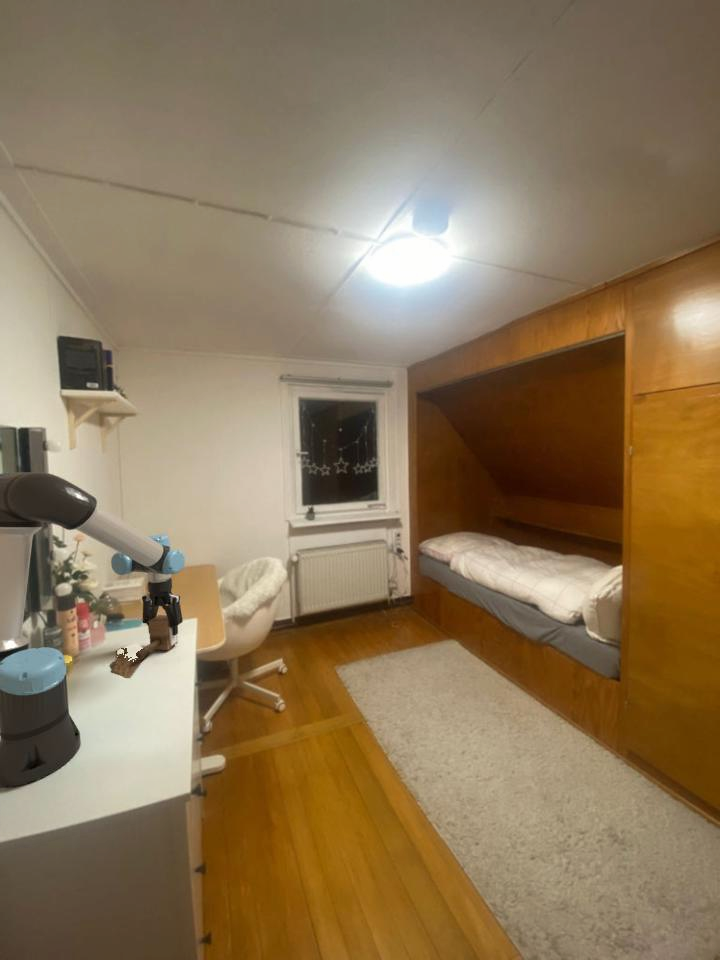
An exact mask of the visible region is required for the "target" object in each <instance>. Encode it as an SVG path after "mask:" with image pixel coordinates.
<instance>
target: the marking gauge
mask: <svg viewBox="0 0 720 960" xmlns="http://www.w3.org/2000/svg"><path fill="white" fill-rule="evenodd" d="M170 626H171V625H170V622H169V620H168V617H167V615H164V614H157V616H156V617H155V618H153V619H151V620H149V629H148V630H149V631H148V634H149V644H148V645H146V646H143V647H144V648H143V649H141V650H140V651H138V652H137V653H136V656H137V657H138V658H140V657H143V655H145V654H146V653H148V652H149V651H150V652H151V651H152V650H162V651H163V650H164V651H169V650H171V649H172V648H174V646H176V645H177V644H178V643H179V642H178V640H177V642H176V643H175V644H176V645H175V644H173V645H172V646H170V637H169V627H170ZM150 652H149V653H150ZM149 653H148V654H149Z"/></svg>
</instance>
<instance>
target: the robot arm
mask: <svg viewBox="0 0 720 960" xmlns="http://www.w3.org/2000/svg"><path fill="white" fill-rule="evenodd" d="M98 503H99V502H98V499H97V498H96V497H95V496H94V495H92V494H90V493H89V492H88V491H85V490H83V489H82V488H80V487H79V486H78V485H75V484H73V482H71V481H69V480H66V479H65V478H62V477H60V476H57V475H55V474H53V473H50V472H49V473H48V472H43V471H31V472H25V471H23V472H19V471H18V472H15V471H14V472H10V471H8V472H4V473H1V472H0V787H1V786H4V787H3V788H8V787H7V786H14V787H19V786H23V785H22V784H24V785H26V784H25V783H27V784H29V783H28V782H30V783H32V782H31V781H33V782H35V781H34V780H36V779H38V780H40V779H42V778H41V777H43V776H45V777H47V776H49V775H50V774H52V773H54V772H55V771H57V770H59V769H60V768H62V767H63V766H64V765H66V764H67V763H68V762H69V761H70V760H72V759H73V758H74V756H75V755H76V754H77V752H79V750H80V748H81V743H82V741H81V733H80V730H79V729H78V726H77V725H76V723H75V722H74V719H73V718H72V716H71V714H70V710H69V708H70V707H69V698H68V697H69V696H68V695H69V693H68V685H67V668H68V667H67V665H66V660H65V657H64V654H63V653H62V652H61V651H60V650H58V649H57V648H53V647H47V646H46V647H44V646H42V647H39V648H37V647H32V648H29V644H30V639H29V638H28V637H26V636H24V634H23V626H24V620H25V619H24V618H25V607H26V602H27V601H26V599H27V590H28V582H29V572H30V563H31V555H32V546H33V539H34V535H35V534H36V533H38V531H40V530H42V529H43V523H49V524H54V525H56V526H59V527H61V528H64V529H65V530H66V531H67V530H68V531H73V530H76V531H78V532H80V533H82V534H84V535H86V536H87V537H90V538H91V539H93V540H95V541H97V542H99V543H101V544H103V545H104V546H107V547H109V548H110V549H111V550H112V549H113V550H114V551H116V552H115V553H114V554H113V555H112V556H111V560H110V562H111V569H112V570H113V572H114V573H115V574H117V575H118V576H123V575H124V576H126V575H129V574H131V573H135V572H136V573H146V578H147V579H146V580H147V581H148V582H147V591H148V593H147V594H144V595H143V596H142V597H141V600H142V624H146V625H147V627H148V628H147V629H148V632H149V620H151V619H153V618H155V617H156V616H158V611H159V607H162V610H164V612H165V614H166V615H167V617H168V620H169V622H170V625H171V626H170V627H169V637H170V646H172V645H173V644H175V643H176V642H177V641H178V634H179V630H178V629H179V628H178V627H179V626H180V624H182V623H183V615H182V608H181V602H180V600H181V596H180V594H179V595H174V594H173V593H172V589H173V579H172V575H177V574H179V573H180V572H181V571H182V570H183V568H184V565H185V562H186V558H185V555H184V553H183V552H182V551H181V550H177V549H175V548H174V549H171V545H170V540H169V536H168V535H167V534H155V535H154V534H153V535H147V534H145V533H144V532H142V531H140V530H139V529H137V528H135V527H134V526H132V525H131V524H129V523H128V522H126V521H124V520H123V519H121V518H120V517H118V516H116V515H115V514H114V513H112V512H110V511H109V510H107V509H106V508H104V507H103V506H101V505H99V504H98ZM48 774H49V775H48ZM46 775H47V776H46ZM39 778H40V779H39ZM43 778H44V777H43ZM36 781H37V780H36ZM18 785H19V786H18ZM5 786H6V787H5Z"/></svg>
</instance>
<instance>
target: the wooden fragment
mask: <svg viewBox="0 0 720 960" xmlns="http://www.w3.org/2000/svg"><path fill="white" fill-rule="evenodd" d="M120 648H121V649H123V650H124V655H123V653H122V654H119V655H117V654H116V657H117V656H118V658H116V659H115V660H114V661H112V662H110V665H109V666H110V667H111V670H110V673H112V674H115V675H118V676H121V677H123V678H124V679H131V677H132V676H133V674H134V673H135V672H136V670H137V669H138V668H139V667H140V665H141V663H142V662H143V660H144V659H145V658H146V657H147V655H148V654H149V653H146V654H145V655H143V657H140V658H135V659H136V660H135V659H132V660H130V661H128V660H129V659H130V658H132V657H130V658H128V656H126V658H124V657H125V654H127V653H128V652H127V648H125V649H124V648H122V647H120ZM133 660H134V662H133Z"/></svg>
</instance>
